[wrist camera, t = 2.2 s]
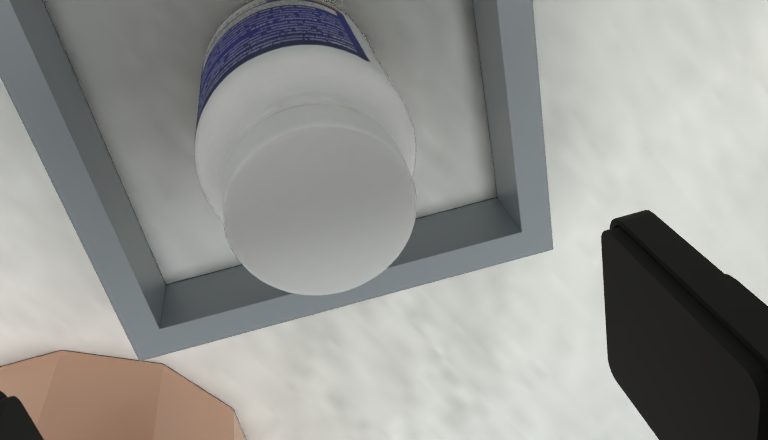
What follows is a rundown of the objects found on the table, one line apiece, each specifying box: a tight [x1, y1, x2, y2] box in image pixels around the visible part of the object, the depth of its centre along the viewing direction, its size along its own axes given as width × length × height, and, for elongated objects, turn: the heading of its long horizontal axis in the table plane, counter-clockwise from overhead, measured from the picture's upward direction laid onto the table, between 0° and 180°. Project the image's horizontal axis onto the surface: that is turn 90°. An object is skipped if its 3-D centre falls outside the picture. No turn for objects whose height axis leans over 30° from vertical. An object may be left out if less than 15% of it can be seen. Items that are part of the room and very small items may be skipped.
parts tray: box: [0, 0, 553, 361], centre depth 21 cm, size 14×14×2 cm
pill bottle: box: [195, 0, 417, 296], centre depth 18 cm, size 5×5×9 cm
